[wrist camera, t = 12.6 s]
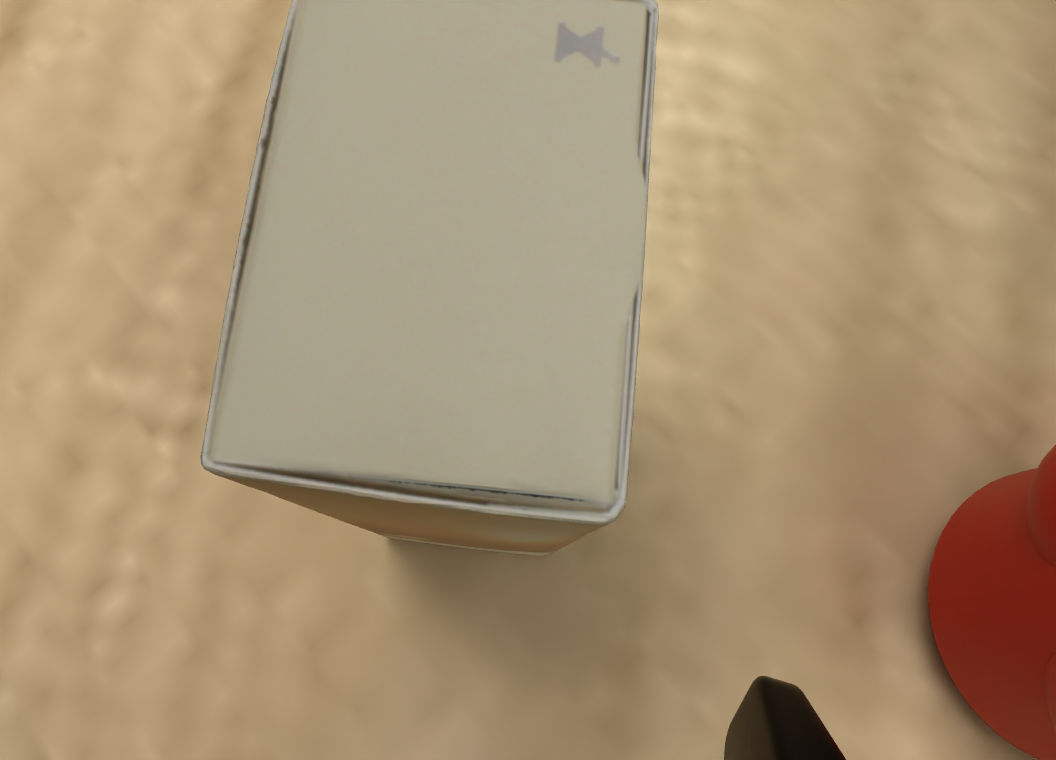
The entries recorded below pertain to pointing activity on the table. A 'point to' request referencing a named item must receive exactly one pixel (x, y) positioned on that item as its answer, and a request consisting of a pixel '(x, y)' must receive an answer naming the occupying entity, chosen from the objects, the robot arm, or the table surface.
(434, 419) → the cosmetic box
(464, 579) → the table surface
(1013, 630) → the red pepper
